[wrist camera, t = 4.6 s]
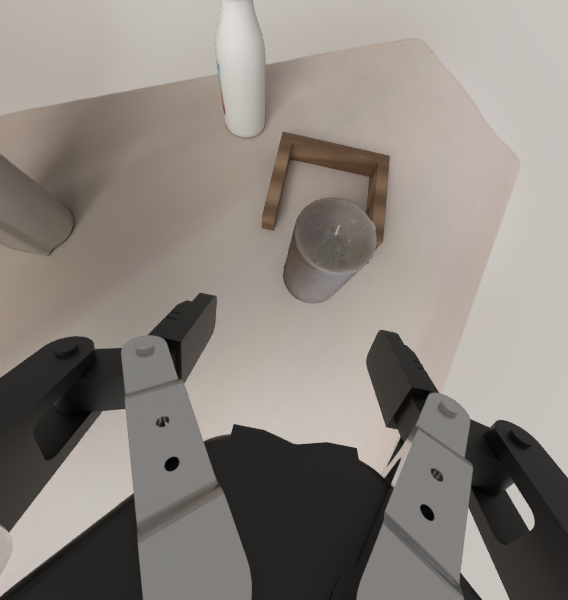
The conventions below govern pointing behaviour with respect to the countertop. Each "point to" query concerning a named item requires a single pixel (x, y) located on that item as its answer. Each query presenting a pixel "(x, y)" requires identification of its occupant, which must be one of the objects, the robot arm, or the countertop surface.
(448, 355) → the countertop surface
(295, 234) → the pillar candle
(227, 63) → the milk bottle
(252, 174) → the countertop surface
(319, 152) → the display frame
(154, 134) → the countertop surface
